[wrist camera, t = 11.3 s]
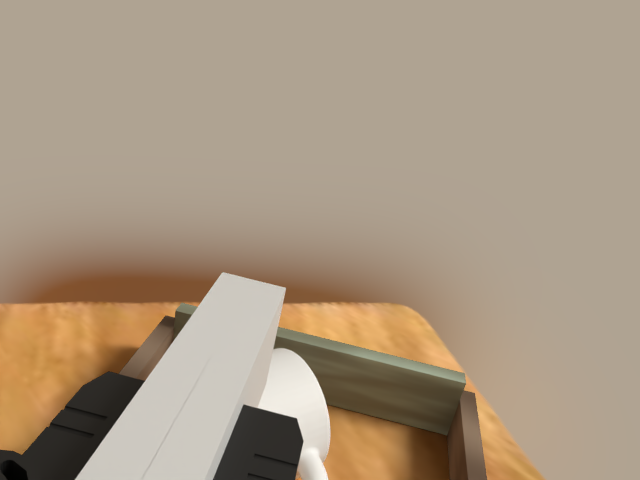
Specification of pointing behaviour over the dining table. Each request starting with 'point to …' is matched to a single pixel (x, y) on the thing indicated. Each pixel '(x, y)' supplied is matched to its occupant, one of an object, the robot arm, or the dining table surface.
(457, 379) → the wooden tray
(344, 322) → the dining table surface
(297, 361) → the mug
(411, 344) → the dining table surface
